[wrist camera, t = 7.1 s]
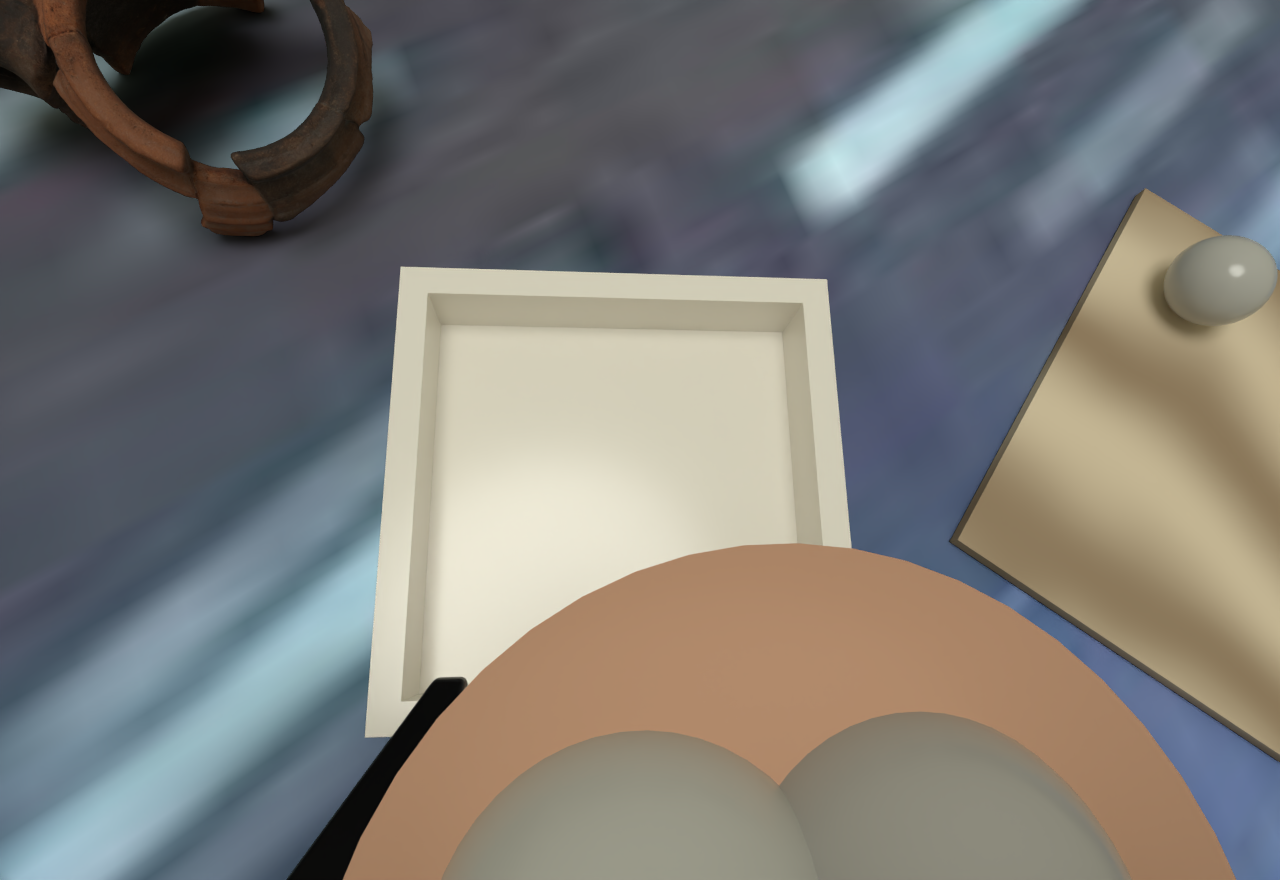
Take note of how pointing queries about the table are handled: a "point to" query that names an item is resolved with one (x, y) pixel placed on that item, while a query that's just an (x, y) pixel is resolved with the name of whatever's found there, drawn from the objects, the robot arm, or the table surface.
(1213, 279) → the grey pebble
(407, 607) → the cream dish
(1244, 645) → the beech board
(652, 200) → the table surface
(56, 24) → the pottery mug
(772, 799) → the terracotta jar
